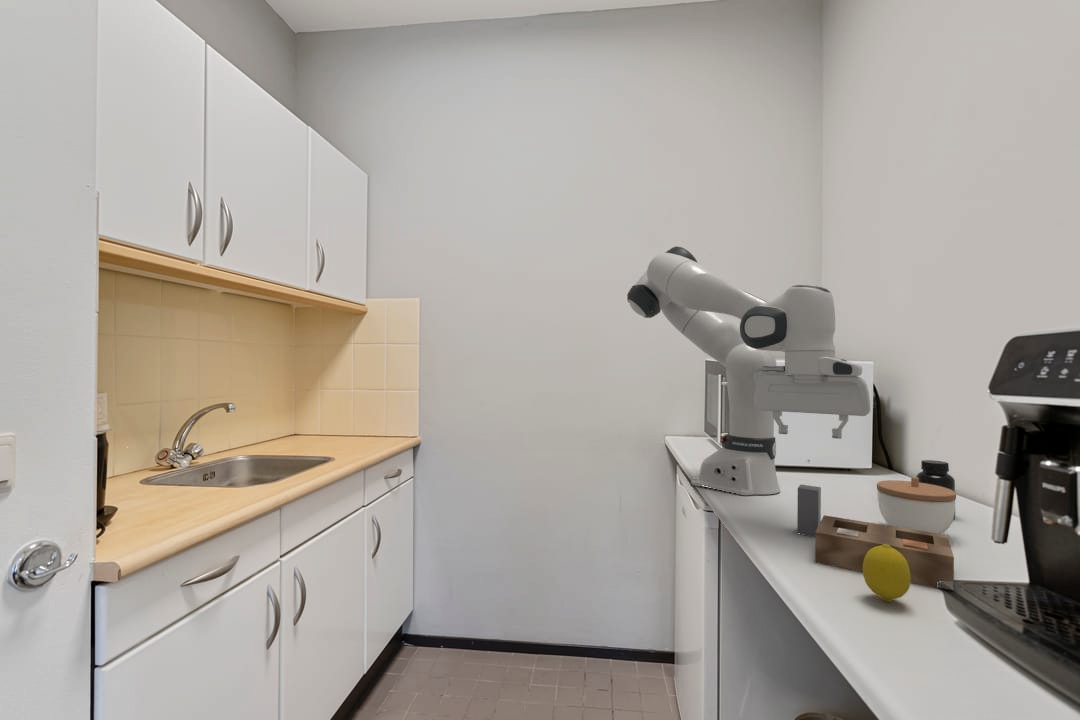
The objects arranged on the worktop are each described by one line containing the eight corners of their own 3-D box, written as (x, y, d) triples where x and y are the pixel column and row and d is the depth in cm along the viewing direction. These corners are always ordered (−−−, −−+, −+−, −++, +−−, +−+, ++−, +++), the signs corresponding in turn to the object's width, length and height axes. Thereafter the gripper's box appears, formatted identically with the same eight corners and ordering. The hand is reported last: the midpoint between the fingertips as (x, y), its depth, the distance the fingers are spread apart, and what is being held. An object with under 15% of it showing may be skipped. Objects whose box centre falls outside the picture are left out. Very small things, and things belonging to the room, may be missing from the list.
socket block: (815, 561, 84) (815, 530, 84) (823, 541, 94) (824, 513, 94) (953, 591, 73) (953, 555, 73) (947, 565, 83) (947, 533, 83)
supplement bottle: (941, 511, 114) (941, 459, 115) (963, 520, 108) (963, 465, 108) (909, 510, 115) (909, 458, 115) (929, 519, 108) (929, 464, 108)
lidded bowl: (870, 532, 99) (870, 477, 99) (883, 519, 108) (883, 468, 108) (952, 549, 90) (952, 488, 90) (959, 533, 99) (959, 478, 99)
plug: (797, 533, 98) (797, 487, 98) (800, 528, 101) (800, 484, 101) (818, 537, 96) (818, 490, 96) (820, 532, 99) (820, 487, 99)
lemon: (853, 592, 72) (853, 537, 73) (889, 592, 73) (889, 537, 73) (882, 611, 67) (882, 551, 67) (921, 610, 67) (921, 551, 67)
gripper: (750, 365, 103) (750, 433, 102) (869, 366, 91) (869, 442, 90) (757, 365, 108) (757, 430, 107) (871, 366, 96) (871, 438, 95)
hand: (809, 436), depth 99 cm, fingers open, 8 cm apart
